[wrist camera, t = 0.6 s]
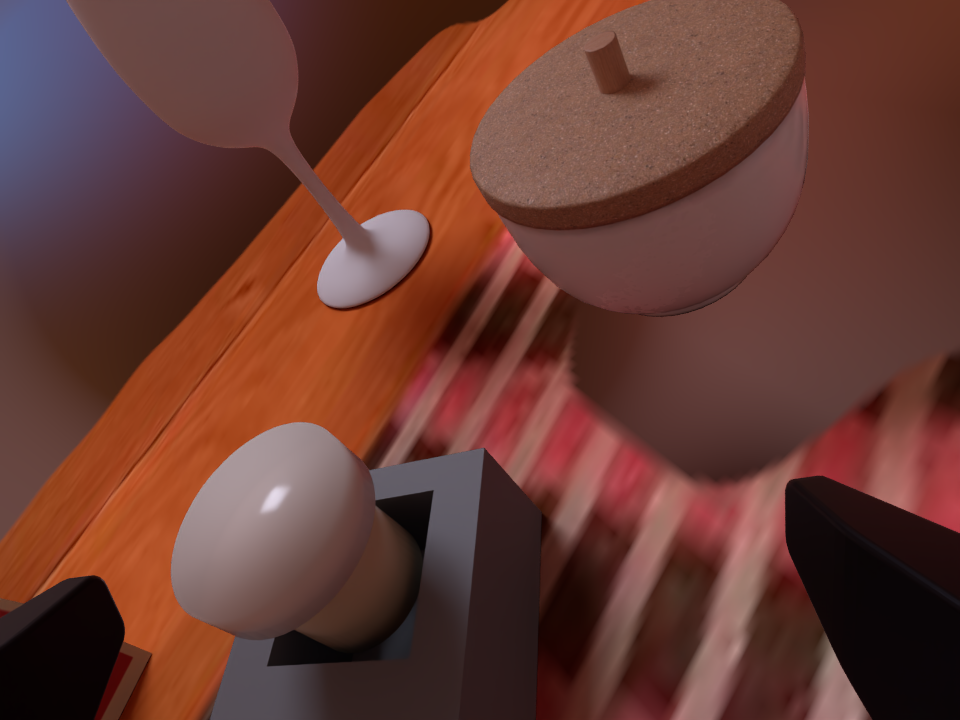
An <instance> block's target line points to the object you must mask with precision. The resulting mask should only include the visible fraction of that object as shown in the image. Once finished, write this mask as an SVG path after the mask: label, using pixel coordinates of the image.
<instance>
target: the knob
mask: <svg viewBox="0 0 960 720" xmlns="http://www.w3.org/2000/svg"><path fill="white" fill-rule="evenodd" d="M422 569H423V561H422V555H421V551H420V548H419V546H418V544H417V542H416V540H415V539H414V537H413V536H412V535H411V534H410V533H409V532H408V531H407V530H406V529H404V528H403V527H402V526H401V525H399V524H398V523H397V522H396V521H394V520H393V519H392V518H391V517H389V516H388V515H387V514H386V513H384V512H383V511H382V510H381V509H379V508H378V507H377V506H376V505H375V489H374V484H373V480H372V477H371V474H370V472H369V470H368V468H367V467H366V465H365V464H364V463H363V461H362V460H361V459H360V458H358V457H357V456H356V455H355V454H354V453H353V452H352V451H350V450H349V449H348V448H347V447H346V446H345V445H344V444H342V443H341V442H340V441H339V440H338V439H337V438H335V437H334V436H333V435H332V434H331V433H330V432H328V431H327V430H326V429H324V428H322V427H321V426H318V425H315V424H312V423H305V422H299V423H290V424H284V425H281V426H278V427H275V428H272V429H270V430H268V431H265V432H263V433H262V434H260V435H258V436H256V437H254V438H253V439H251V440H250V441H248V442H247V443H245V444H244V445H243V446H241V447H240V448H239V449H238V450H236V451H235V452H234V453H233V454H232V455H231V456H230V457H228V458H227V459H226V460H225V461H224V462H223V463H222V464H221V465H220V466H219V467H218V468H217V470H216V471H215V472H214V473H213V474H212V475H211V477H210V478H209V479H208V480H207V482H206V483H205V484H204V486H203V487H202V488H201V490H200V491H199V493H198V494H197V496H196V498H195V499H194V501H193V502H192V504H191V506H190V508H189V510H188V512H187V514H186V516H185V518H184V520H183V522H182V525H181V527H180V530H179V533H178V535H177V538H176V542H175V546H174V550H173V556H172V562H171V580H172V587H173V590H174V594H175V597H176V599H177V601H178V603H179V604H180V606H181V607H182V608H183V609H184V611H186V612H187V613H188V614H189V615H191V616H192V617H194V618H197V619H199V620H201V621H203V622H205V623H208V624H210V625H212V626H214V627H217V628H219V629H221V630H223V631H225V632H228V633H230V634H232V635H234V636H236V637H239V638H242V639H247V640H265V639H271V638H275V637H278V636H281V635H284V634H286V633H288V632H290V631H292V630H296V631H298V632H300V633H302V634H304V635H306V636H308V637H310V638H312V639H314V640H316V641H318V642H320V643H322V644H324V645H326V646H328V647H330V648H332V649H334V650H336V651H338V652H343V653H359V652H363V651H366V650H369V649H371V648H373V647H376V646H377V645H379V644H381V643H382V642H384V641H385V640H386V639H387V638H389V637H390V636H391V635H392V634H393V633H394V632H395V631H396V630H397V629H398V628H399V627H400V626H401V624H402V623H403V622H404V621H405V619H406V618H407V616H408V615H409V613H410V611H411V609H412V608H413V606H414V604H415V601H416V599H417V596H418V593H419V589H420V583H421V576H422Z"/></svg>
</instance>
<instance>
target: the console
mask: <svg viewBox="0 0 960 720" xmlns="http://www.w3.org/2000/svg"><path fill="white" fill-rule="evenodd" d="M369 472H370V474H371V477H372V480H373V484H374V489H375V505H376V506H377V507H378V508H379V509H381V510H382V511H383V512H384V513H386V514H387V515H388V516H389V517H391V518H392V519H393V520H394V521H396V522H397V523H398V524H399V525H401V526H402V527H403V528H404V529H406V530H407V531H408V532H409V533H410V534H411V535H412V536H413V537H414V539H415V540H416V542H417V544H418V546H419V548H420V551H421V555H422V561H423V569H422V576H421V583H420V589H419V593H418V596H417V599H416V601H415V604H414V606H413V608H412V609H411V611H410V613H409V615H408V616H407V618H406V619H405V621H404V622H403V623H402V624H401V626H400V627H399V628H398V629H397V630H396V631H395V632H394V633H393V634H392V635H391V636H390V637H389V638H387V639H386V640H385V641H384V642H382V643H381V644H379V645H377V646H376V647H373V648H371V649H369V650H366V651H363V652H359V653H343V652H338V651H336V650H334V649H332V648H330V647H328V646H326V645H324V644H322V643H320V642H318V641H316V640H314V639H312V638H310V637H308V636H306V635H304V634H302V633H300V632H298V631H296V630H292V631H290V632H288V633H286V634H284V635H281V636H278V637H275V638H271V639H265V640H247V639H242V638H239V637H236V636H235V639H234V643H233V646H232V649H231V652H230V656H229V659H228V662H227V665H226V669H225V672H224V675H223V678H222V682H221V685H220V688H219V691H218V695H217V698H216V701H215V704H214V708H213V711H212V714H211V717H210V720H536V692H537V657H538V622H539V587H540V553H541V518H542V512H541V511H540V510H539V509H538V508H537V507H536V506H535V504H534V503H533V502H532V501H531V500H530V499H529V498H528V497H527V495H526V494H525V493H524V492H523V491H522V490H521V489H520V488H519V486H518V485H517V484H516V483H515V482H514V481H513V480H512V479H511V477H510V476H509V475H508V474H507V473H506V472H505V471H504V469H503V468H502V467H501V466H500V465H499V464H498V463H497V462H496V460H495V459H494V458H493V457H492V456H491V455H490V454H489V453H488V451H487V450H486V449H485V448H481V449H476V450H471V451H466V452H461V453H456V454H451V455H445V456H440V457H435V458H430V459H425V460H420V461H415V462H410V463H405V464H400V465H395V466H389V467H384V468H379V469H374V470H369Z"/></svg>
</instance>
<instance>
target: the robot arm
mask: <svg viewBox="0 0 960 720" xmlns="http://www.w3.org/2000/svg"><path fill="white" fill-rule="evenodd" d="M785 534H786V543H787V547H788V550H789V553H790V556H791V558H792V560H793V562H794V565H795V567H796V569H797V571H798V573H799V576H800V578H801V580H802V582H803V584H804V587H805V589H806V591H807V593H808V595H809V598H810V600H811V602H812V604H813V606H814V609H815V611H816V613H817V615H818V617H819V620H820V622H821V624H822V626H823V628H824V631H825V633H826V635H827V637H828V639H829V642H830V644H831V646H832V648H833V650H834V652H835V654H836V656H837V658H838V661H839V663H840V665H841V667H842V669H843V670H844V672H845V674H846V676H847V677H848V679H849V681H850V683H851V685H852V686H853V688H854V690H855V691H856V693H857V695H858V696H859V698H860V700H861V702H862V703H863V705H864V707H865V708H866V710H867V712H868V713H869V715H870V717H871V718H872V720H960V533H958V532H956V531H953V530H951V529H948V528H946V527H944V526H941V525H939V524H936V523H934V522H932V521H929V520H927V519H925V518H922V517H920V516H917V515H915V514H913V513H910V512H908V511H906V510H903V509H901V508H898V507H896V506H894V505H891V504H889V503H887V502H884V501H882V500H879V499H877V498H875V497H872V496H870V495H868V494H865V493H863V492H860V491H858V490H856V489H853V488H851V487H848V486H846V485H844V484H841V483H839V482H837V481H834V480H832V479H829V478H827V477H824V476H813V477H806V478H799V479H792V480H790V481H789V482H788V483H787V485H786V489H785ZM124 635H125V627H124V622H123V619H122V617H121V615H120V613H119V611H118V608H117V606H116V604H115V602H114V600H113V598H112V596H111V593H110V591H109V589H108V587H107V585H106V583H105V581H104V580H103V579H101V578H100V577H98V576H95V575H92V576H84V577H77V578H69V579H66V580H64V581H62V582H60V583H58V584H57V585H55V586H53V587H51V588H50V589H48V590H46V591H45V592H43V593H41V594H40V595H38V596H36V597H35V598H33V599H31V600H29V601H28V602H26V603H24V604H23V605H21V606H19V607H18V608H16V609H14V610H13V611H11V612H9V613H7V614H6V615H4V616H2V617H1V618H0V720H94V719H95V716H96V714H97V711H98V708H99V706H100V703H101V700H102V698H103V695H104V692H105V690H106V687H107V684H108V681H109V679H110V676H111V673H112V671H113V668H114V665H115V663H116V660H117V657H118V655H119V652H120V649H121V647H122V644H123V641H124Z"/></svg>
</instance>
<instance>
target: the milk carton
mask: <svg viewBox="0 0 960 720" xmlns="http://www.w3.org/2000/svg"><path fill="white" fill-rule="evenodd" d="M21 605H23V603H18V602H14V601H10V600H6V599H1V598H0V618H1V617H2V616H4V615H6V614H7V613H9V612H11V611H13V610H14V609H16V608H18V607H19V606H21ZM151 654H152V653H150V652H147V651H145V650H142V649H140V648H138V647H135V646H133V645H130V644H128V643H126V642H123V644H122V647H121V649H120V652H119V655H118V657H117V660H116V663H115V665H114V668H113V671H112V673H111V676H110V679H109V681H108V684H107V687H106V690H105V692H104V695H103V698H102V700H101V703H100V706H99V708H98V711H97V714H96V716H95V719H94V720H118V719H119V717H120V715H121V713H122V711H123V709H124V707H125V705H126V703H127V701H128V699H129V697H130V695H131V693H132V691H133V689H134V687H135V685H136V683H137V681H138V679H139V677H140V675H141V673H142V671H143V669H144V667H145V665H146V663H147V662H148V660H149V658H150V656H151Z"/></svg>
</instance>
